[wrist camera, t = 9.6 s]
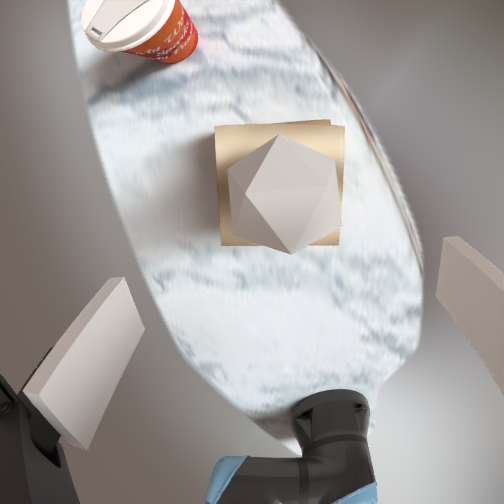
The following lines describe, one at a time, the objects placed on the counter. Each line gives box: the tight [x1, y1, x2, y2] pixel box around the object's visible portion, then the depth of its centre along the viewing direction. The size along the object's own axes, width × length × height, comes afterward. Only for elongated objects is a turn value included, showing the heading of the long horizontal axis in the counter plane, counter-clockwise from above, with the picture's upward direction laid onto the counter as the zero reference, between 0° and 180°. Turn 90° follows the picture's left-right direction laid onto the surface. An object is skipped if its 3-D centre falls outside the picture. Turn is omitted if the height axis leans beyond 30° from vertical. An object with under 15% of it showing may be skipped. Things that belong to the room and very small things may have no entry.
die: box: [227, 134, 342, 255], centre depth 22 cm, size 8×9×10 cm
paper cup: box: [82, 0, 198, 63], centre depth 20 cm, size 8×8×14 cm
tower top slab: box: [214, 124, 345, 246], centre depth 27 cm, size 11×11×4 cm
